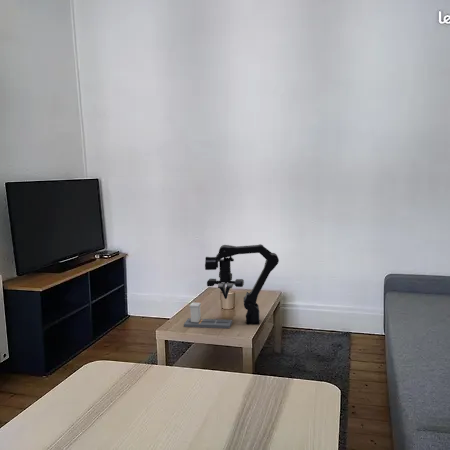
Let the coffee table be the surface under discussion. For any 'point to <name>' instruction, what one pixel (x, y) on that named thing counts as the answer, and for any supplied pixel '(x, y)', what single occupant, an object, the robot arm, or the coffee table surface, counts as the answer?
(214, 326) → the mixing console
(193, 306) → the fader knob
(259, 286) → the robot arm
